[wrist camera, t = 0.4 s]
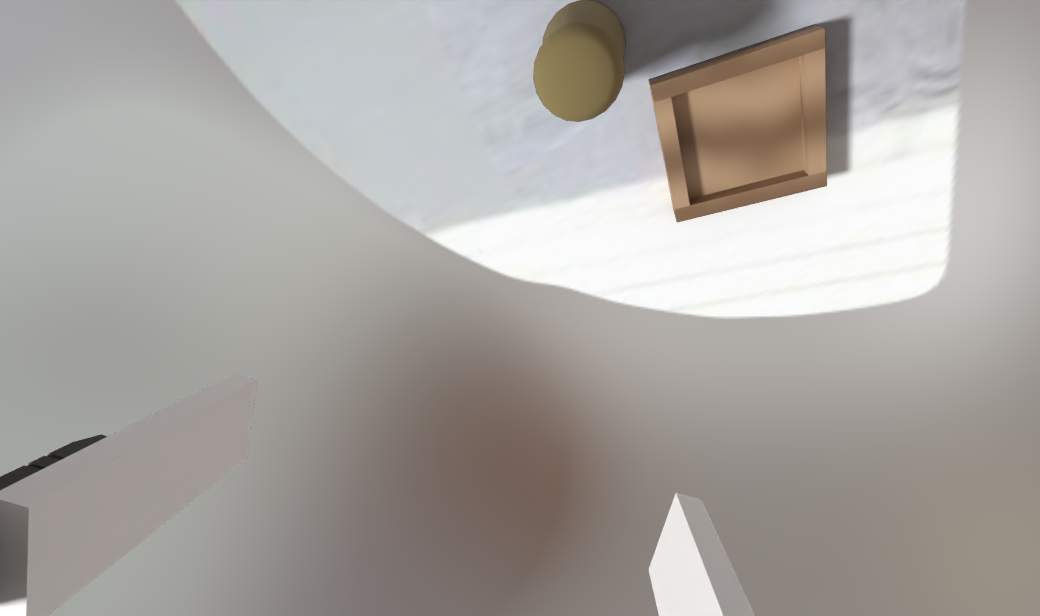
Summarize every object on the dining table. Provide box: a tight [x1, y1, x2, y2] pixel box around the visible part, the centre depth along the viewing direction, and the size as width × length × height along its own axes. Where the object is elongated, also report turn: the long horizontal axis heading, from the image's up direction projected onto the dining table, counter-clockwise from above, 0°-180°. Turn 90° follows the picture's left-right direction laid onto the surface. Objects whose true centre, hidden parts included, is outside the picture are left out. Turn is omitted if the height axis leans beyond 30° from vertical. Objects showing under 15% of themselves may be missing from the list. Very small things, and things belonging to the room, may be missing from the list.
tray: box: [649, 25, 827, 222], centre depth 37 cm, size 11×11×2 cm
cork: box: [533, 0, 626, 122], centre depth 31 cm, size 6×6×11 cm
